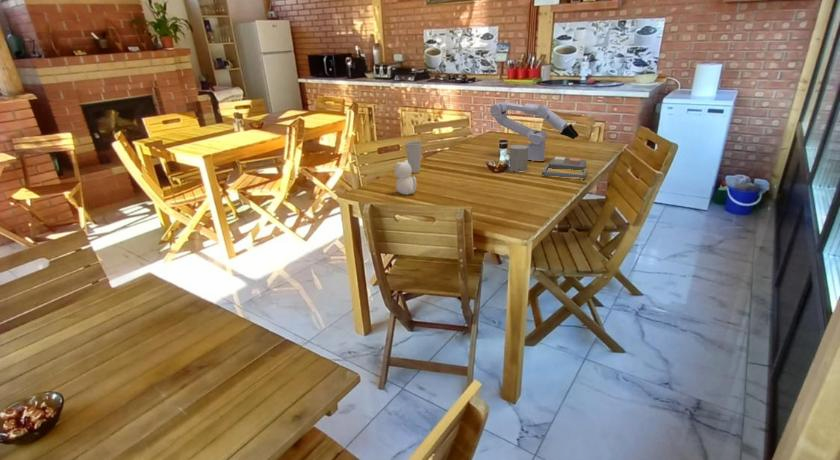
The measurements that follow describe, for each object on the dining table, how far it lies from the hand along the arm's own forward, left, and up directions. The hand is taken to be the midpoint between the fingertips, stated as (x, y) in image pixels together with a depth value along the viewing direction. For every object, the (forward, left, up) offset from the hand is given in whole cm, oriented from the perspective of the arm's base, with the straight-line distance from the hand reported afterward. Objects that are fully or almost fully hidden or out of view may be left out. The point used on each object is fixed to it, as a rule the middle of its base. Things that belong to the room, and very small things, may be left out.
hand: (576, 137), depth 237 cm
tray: (-2, -21, -15) cm, 26 cm away
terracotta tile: (+1, -9, -12) cm, 15 cm away
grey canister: (-26, -20, -15) cm, 36 cm away
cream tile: (-6, -9, -12) cm, 16 cm away
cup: (-76, -40, -15) cm, 87 cm away
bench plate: (-2, -8, -15) cm, 17 cm away
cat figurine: (-65, -73, -15) cm, 98 cm away
